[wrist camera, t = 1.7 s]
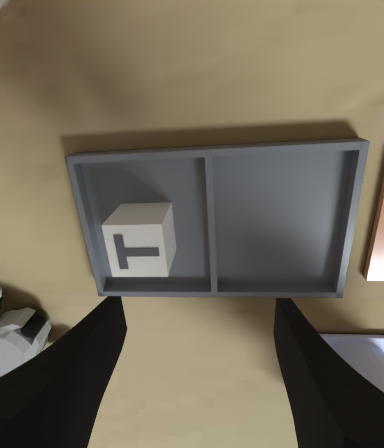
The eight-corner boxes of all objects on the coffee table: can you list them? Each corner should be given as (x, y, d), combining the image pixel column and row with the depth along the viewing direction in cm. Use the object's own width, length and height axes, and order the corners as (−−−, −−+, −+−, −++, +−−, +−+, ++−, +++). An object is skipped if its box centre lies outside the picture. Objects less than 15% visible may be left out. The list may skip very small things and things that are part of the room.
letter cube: (176, 248, 24) (167, 277, 20) (128, 249, 24) (111, 277, 21) (171, 202, 22) (161, 224, 19) (120, 203, 23) (100, 226, 19)
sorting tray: (335, 286, 24) (342, 297, 23) (104, 285, 27) (98, 296, 25) (359, 137, 20) (369, 141, 18) (74, 152, 22) (64, 156, 20)
